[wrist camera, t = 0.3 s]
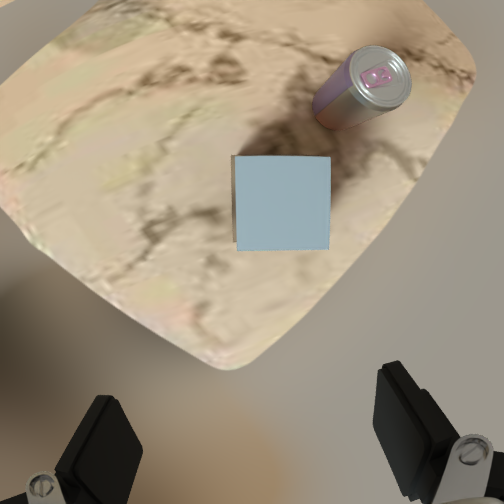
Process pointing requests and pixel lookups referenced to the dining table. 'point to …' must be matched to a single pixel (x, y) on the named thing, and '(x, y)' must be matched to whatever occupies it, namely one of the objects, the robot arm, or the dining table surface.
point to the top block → (282, 202)
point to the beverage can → (362, 88)
